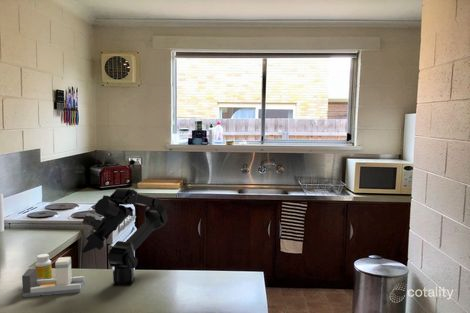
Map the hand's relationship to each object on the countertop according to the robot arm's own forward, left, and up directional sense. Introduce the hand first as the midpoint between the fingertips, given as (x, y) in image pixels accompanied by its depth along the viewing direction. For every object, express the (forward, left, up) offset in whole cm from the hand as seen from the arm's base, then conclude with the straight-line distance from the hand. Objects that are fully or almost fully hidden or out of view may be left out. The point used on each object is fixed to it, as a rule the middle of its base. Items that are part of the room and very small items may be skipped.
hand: (82, 251), depth 137 cm
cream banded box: (+7, +1, -11) cm, 13 cm away
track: (+10, +2, -13) cm, 16 cm away
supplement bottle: (+18, -7, -13) cm, 23 cm away
